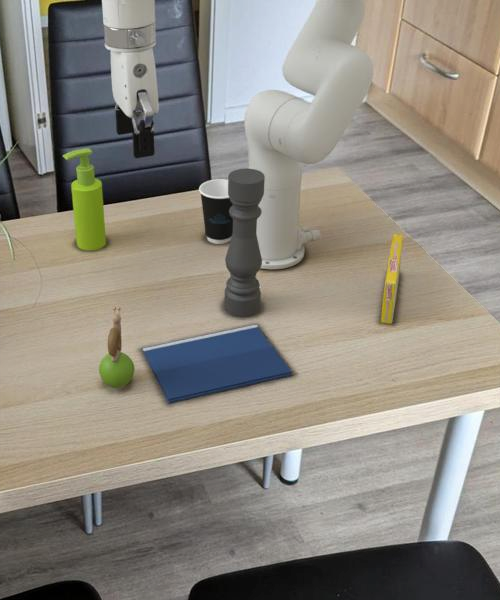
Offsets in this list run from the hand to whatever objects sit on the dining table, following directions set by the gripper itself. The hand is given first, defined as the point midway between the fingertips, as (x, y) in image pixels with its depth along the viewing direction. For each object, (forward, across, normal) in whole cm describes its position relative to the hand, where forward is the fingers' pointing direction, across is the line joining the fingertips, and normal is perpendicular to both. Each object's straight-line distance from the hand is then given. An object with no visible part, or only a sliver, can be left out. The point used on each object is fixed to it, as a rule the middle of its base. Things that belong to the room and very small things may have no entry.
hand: (135, 144), depth 131 cm
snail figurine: (+31, -19, +10) cm, 37 cm away
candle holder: (+31, -7, -16) cm, 35 cm away
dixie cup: (+31, +17, -21) cm, 41 cm away
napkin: (+30, -20, -6) cm, 37 cm away
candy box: (+31, -13, -41) cm, 53 cm away
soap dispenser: (+31, +24, +4) cm, 39 cm away
